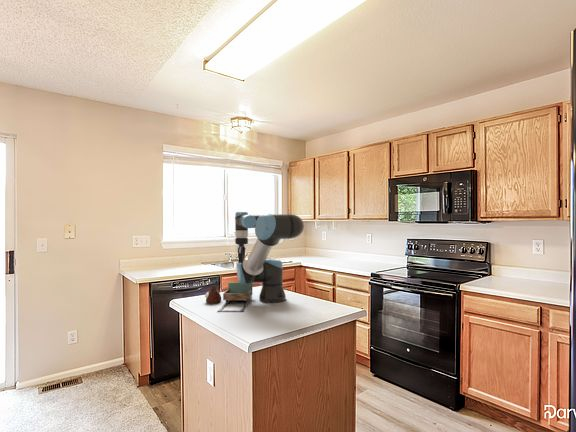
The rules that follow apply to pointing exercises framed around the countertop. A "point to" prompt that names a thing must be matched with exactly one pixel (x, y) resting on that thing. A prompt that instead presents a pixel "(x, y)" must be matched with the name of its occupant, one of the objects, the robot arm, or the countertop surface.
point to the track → (230, 310)
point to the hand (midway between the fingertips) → (241, 276)
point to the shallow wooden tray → (238, 291)
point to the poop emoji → (213, 296)
